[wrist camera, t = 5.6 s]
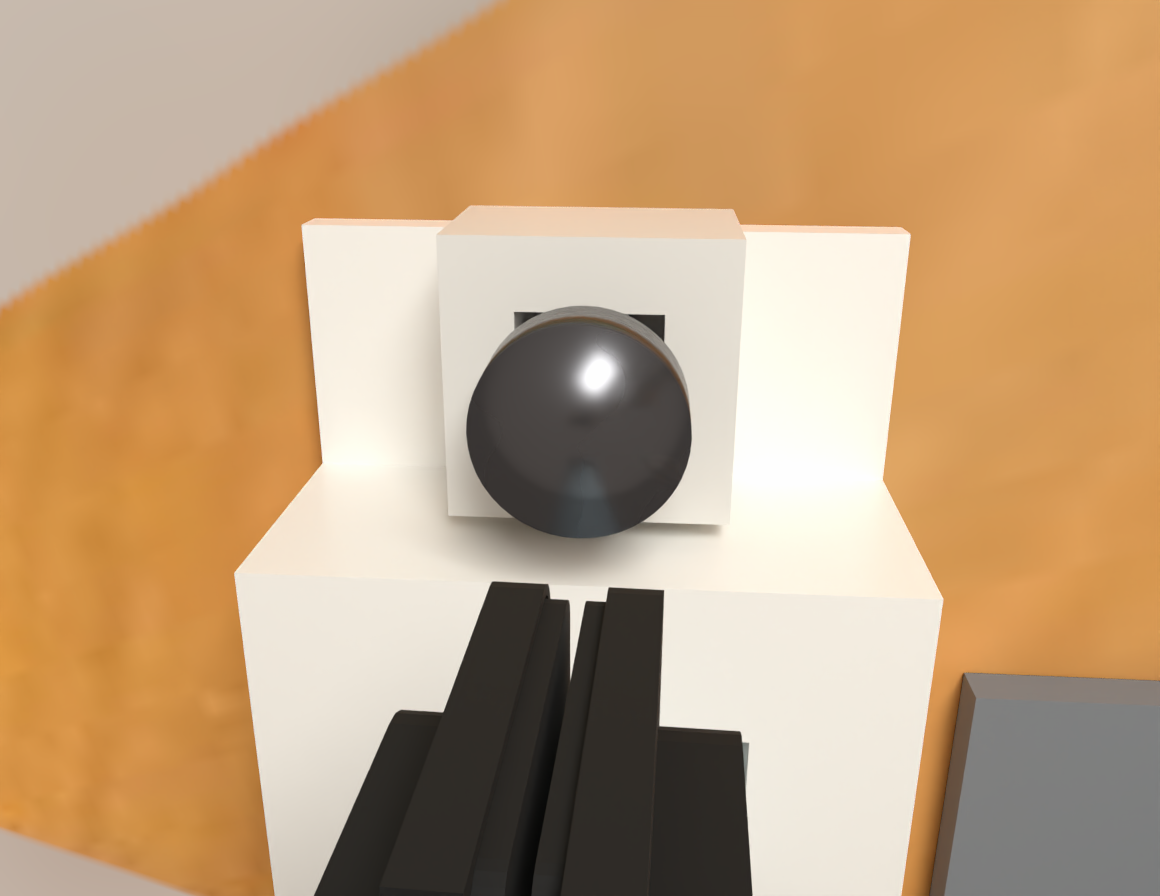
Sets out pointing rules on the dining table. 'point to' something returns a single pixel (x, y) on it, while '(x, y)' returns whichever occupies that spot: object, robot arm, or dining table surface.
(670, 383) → the plunger
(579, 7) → the dining table surface
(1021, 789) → the mat
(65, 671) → the dining table surface
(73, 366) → the dining table surface
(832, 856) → the housing
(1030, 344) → the dining table surface
